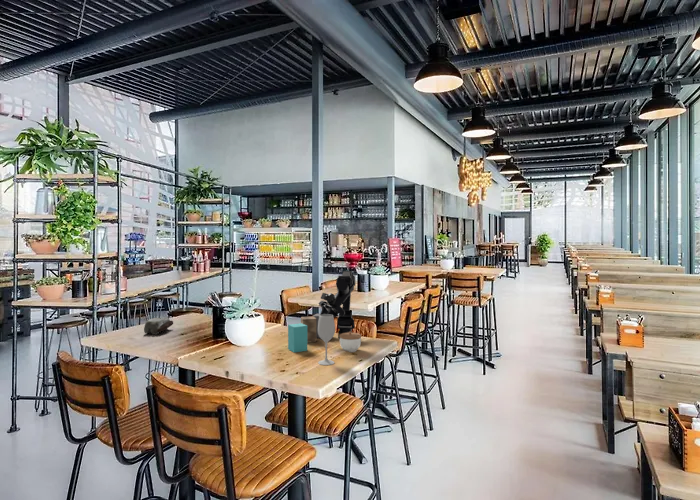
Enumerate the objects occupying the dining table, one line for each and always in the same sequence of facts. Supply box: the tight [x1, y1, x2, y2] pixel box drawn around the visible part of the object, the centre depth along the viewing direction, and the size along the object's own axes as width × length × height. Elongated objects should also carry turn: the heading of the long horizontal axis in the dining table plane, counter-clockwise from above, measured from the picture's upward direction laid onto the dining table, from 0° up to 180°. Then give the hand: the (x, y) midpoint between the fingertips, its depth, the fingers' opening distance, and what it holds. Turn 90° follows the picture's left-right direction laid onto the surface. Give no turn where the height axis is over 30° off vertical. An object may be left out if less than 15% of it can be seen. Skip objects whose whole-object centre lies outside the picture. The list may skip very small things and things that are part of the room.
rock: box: [143, 316, 174, 335], centre depth 252 cm, size 18×11×8 cm, turn 1°
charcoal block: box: [312, 313, 321, 339], centre depth 238 cm, size 7×7×12 cm
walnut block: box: [300, 315, 317, 343], centre depth 229 cm, size 7×7×12 cm
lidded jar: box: [339, 331, 362, 353], centre depth 212 cm, size 11×11×9 cm
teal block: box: [287, 322, 308, 353], centre depth 210 cm, size 7×7×12 cm
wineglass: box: [317, 314, 336, 366], centre depth 191 cm, size 8×8×21 cm
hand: (320, 321), depth 216 cm, fingers open, 4 cm apart
